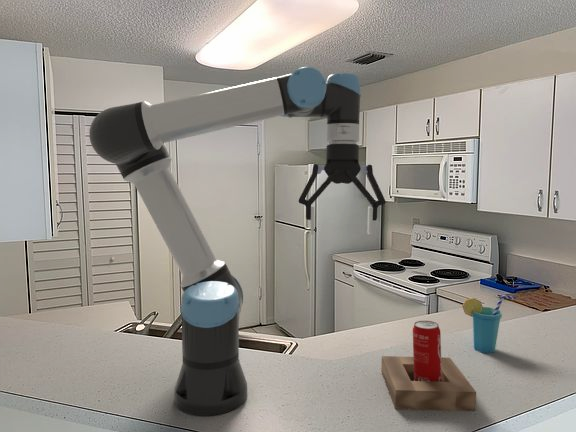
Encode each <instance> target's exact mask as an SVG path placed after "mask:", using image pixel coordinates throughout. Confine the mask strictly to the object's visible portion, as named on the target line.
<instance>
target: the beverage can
mask: <svg viewBox="0 0 576 432" xmlns="http://www.w3.org/2000/svg"><path fill="white" fill-rule="evenodd" d="M412 348H413V352H412V355H413V356H412V357H413V358H414V381H433V382H442V374H441V357H442V349H441V348H442V341H441V329H440V327H439V323H438V322H436V321H432V320H417V321H415V322H414V324H413V327H412Z"/></svg>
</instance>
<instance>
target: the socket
mask: <svg viewBox="0 0 576 432" xmlns="http://www.w3.org/2000/svg"><path fill="white" fill-rule="evenodd" d="M380 368H381V372H382V373H381V372H380V373H381V375H383V376H382V378H383V380H385V381H384V383H386V384H385V386H386V388H387V391H389V392H388V394H389V396H390V400H391V402H392V404H393V407H394V409H395V410H424V411H425V410H426V411H428V410H429V411H454V412H455V411H458V412H459V411H462V412H463V411H464V412H467V411H468V412H476V409H477V408H476V403H477V391H476V390H475V388H474V387H473V386H472V384H471V383H470V382H469V381H468V379H467V378H466V376H465V375H464V374H463V372H462V371H461V370H460V369H459V367H458V366H457V365H456V364H455V362H454V361H453V360H452V358H451V357H442V356H441V374H442V382H433V381H414V358H413V356H395V355H387V356H386V355H385V356H384V355H382V356H381V367H380Z"/></svg>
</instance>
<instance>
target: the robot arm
mask: <svg viewBox="0 0 576 432" xmlns="http://www.w3.org/2000/svg"><path fill="white" fill-rule="evenodd" d="M361 96H362V95H361V79H360V78H359V76H358V75H356V74H354V73H349V72H348V73H347V72H342V73H341V72H340V73H339V72H338V73H332V74H329V76H328V77H327V80H326V78H325V76H324V75H323V73H322V72H321V71H320V70H318V69H317V68H314V67H311V66H303V67H298V69H296V70H294V71H293V72H292V73H289V74H285V75H280V76H276V77H272V78H267V79H262V80H258V81H253V82H249V83H245V84H239V85H235V86H232V87H227V88H223V89H218V90H214V91H210V92H209V91H208V92H205V93H201V94H195V95H191V96H187V97H183V98H178V99H173V100H169V101H165V102H160V103H156V104H151V103H149V102H147V101H146V100H143V101H140V102H136V103H135V102H134V103H129V104H123V105H118V106H112V107H109V108H107V109H104V110H102V111H101V112H99V113H98V114H97V115H96V116H95V117H94V118H93V120H92V122H91V123H90V127H89V141H90V144H91V146H92V149H93V150H94V151H95V153H96V154H97V156H99V157H100V158H101V159H103V160H104V161H107V162H109V163H112V164H115V166H116V167H117V170H118V171H119V173H120V175H121V177H122V179H123V181H125V182H127V183H131V184H133V185H134V186H135V188H136V190H137V192H138V193H139V195H140V198H141V199H142V201H143V203H144V205H145V207H146V209H147V211H148V213H149V215H150V216H151V218H152V220H153V223H154V224H155V225H156V229H157V230H158V231H159V234H160V235H161V237H162V240H163V241H164V243H165V244H166V247H167V249H168V250H169V252H170V254H171V255H172V258H173V260H174V262H175V263H176V265H177V267H178V270H179V271H180V273H181V274H182V279H181V282H180V287H181V289H182V291H183V293H182V296H181V303H180V306H179V307H180V313H181V342H182V343H181V344H182V347H181V348H182V349H181V351H182V353H181V354H182V364H181V368H180V370H179V374H178V377H177V381H176V382H175V386H174V403H175V406H176V407H177V408H179V410H180V411H182V412H184V413H186V414H189V415H195V416H205V417H206V416H216V415H217V416H218V415H221V414H225V413H228V412H231V411H233V410H235V409H238V408H239V407H240V406H241V405H243V404H244V402H245V401H246V400H247V398H248V383H247V380H246V376H245V373H244V370H243V367H242V365H241V362H240V359H239V358H240V356H239V354H240V353H239V351H240V349H239V347H240V343H239V342H240V339H239V336H240V334H239V331H240V330H239V329H240V327H239V325H240V324H239V322H240V317H241V311H242V306H243V302H244V292H243V288H242V286H241V284H240V282H239V280H238V279H237V278H236V277H235V276H234V275H233V274H232V273H231V271H230V269H229V267H228V266H227V264H226V261H224V260H221V259H218V258H216V257H215V254H214V252H213V250H212V249H211V247H210V245H209V242H208V241H207V239H206V237H205V235H204V233H203V231H202V229H201V228H200V225H199V223H198V221H197V219H196V218H195V216H194V214H193V212H192V209H191V208H190V206H189V204H188V203H187V200H186V198H185V196H184V194H183V192H182V190H181V188H180V187H179V185H178V183H177V180H176V179H175V177H174V175H173V173H172V172H171V168H170V166H171V162H172V157H171V155H170V152H169V151H168V148H167V146H166V145H165V144H166V143H169V142H174V141H178V140H183V139H186V138H187V139H188V138H191V137H197V136H200V135H203V134H209V133H213V132H216V131H221V130H226V129H229V128H235V127H239V126H243V125H246V124H252V123H255V122H259V121H263V120H268V119H271V118H276V117H285V118H286V117H287V118H290V119H291V118H326V142H327V143H328V144H327V145H326V147H325V148H326V149H325V150H326V152H325V153H326V155H325V156H326V157H325V159H326V160H325V165H318V164H317V163H314V164H313V165H312V172H311V175H310V177H309V179H308V181H307V183H306V184H305V187H304V188H303V190H302V193H301V194H300V197H299V198H298V203H299V204H301V205H304V206H305V219H306V220H308V221H310V235H314V234H315V205H313V204H314V203H315V201H316V200H317V199H318V198H319V197H320V196H321V195H322V193H323V192H324V191H325V190H326V188H327V187H328V186H329V185H330V184H331V183H333V184H338V185H339V184H344V185H345V184H347V185H348V184H351V183H352V184H354V186H355V188H357V189H358V190H359V192H360V193H361V194H362V195H363V196H364V198H365V199H366V200H367V201H368V203H369V204H370V205H371V206H367V222H366V223H367V225H366V229H367V231H366V234H367V235H369V236H373V221H377V220H378V208H379V206H383V205H385V204H386V202H387V201H386V199H385V197H384V195H383V192H382V190H381V188H380V186H379V184H378V182H377V179H376V177H375V175H374V171H373V165H372V164H366V165H360V162H359V161H360V160H359V159H360V158H359V157H360V146H359V144H357V143H358V142H359V141H360V111H361V110H360V109H361ZM322 171H324V172H325V174H326V175H327V177H326V179H324V181H323V182H322V183H321V184H320V185H319V187H318V188H317V189H316V190H315V191H314V193H312V194H311V196H310V197H309V198H308V199H306V198H307V196H308V194H309V192H310V190H311V188H312V186H313V185H314V182H315V180H316V178H317V176H318V175H320V174H321V173H322ZM361 171H362V173H363V174H364V175H366V177H367V179H368V182H369V185H370V186H371V188H372V191H373V193H374V194H375V197H376V198H377V199H375V198H374V197H373V196H372V195H371V193H370V192H369V191H368V190H367V188H366V187H365V186H364V185H363V184H362V182H361V181H360V179H359V178H357V177H358V174H360V172H361Z"/></svg>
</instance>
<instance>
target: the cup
mask: <svg viewBox="0 0 576 432" xmlns="http://www.w3.org/2000/svg"><path fill="white" fill-rule="evenodd" d="M504 299H508V300H514V301H515V300H516V296H513V295H507V294H503V295H501V296H500V297H499V299H498V301H497V304H496V306H495V308H492V307H487V306H486V307H485V306H483V304H482V301H481V300H479V299H477V298H475V297H470V298H468V299H465V300H464V302H463V304H462V306H461V308H462V309H463V313H464V314H465V315H467V316H470V317H472V333H473V335H472V336H473V337H472V338H473V349H474V350H475V351H476V352H479V353H482V354H483V353H484V354H493V353H495V352H496V346H497V339H498V334H499V328H500V321H501V319H502V316H503V314H502V312H501V310H500V307H501V305H502V303H503V300H504Z"/></svg>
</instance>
